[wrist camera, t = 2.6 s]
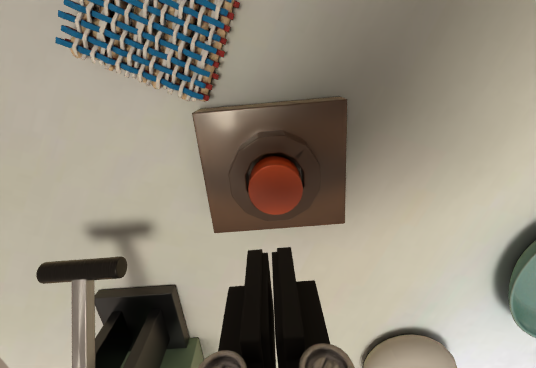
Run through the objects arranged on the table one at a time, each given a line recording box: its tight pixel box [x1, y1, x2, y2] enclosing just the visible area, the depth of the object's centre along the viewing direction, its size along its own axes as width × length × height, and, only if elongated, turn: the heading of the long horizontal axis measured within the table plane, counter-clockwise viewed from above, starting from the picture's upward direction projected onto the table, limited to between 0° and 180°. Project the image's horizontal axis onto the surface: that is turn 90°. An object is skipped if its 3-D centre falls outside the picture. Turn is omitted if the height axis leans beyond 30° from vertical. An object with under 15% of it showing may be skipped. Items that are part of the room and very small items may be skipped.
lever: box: [37, 257, 127, 368], centre depth 21 cm, size 14×6×2 cm, turn 6°
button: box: [248, 156, 303, 215], centre depth 19 cm, size 4×4×2 cm
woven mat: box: [56, 0, 240, 102], centre depth 18 cm, size 10×11×2 cm
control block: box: [192, 97, 347, 233], centre depth 22 cm, size 10×11×4 cm
